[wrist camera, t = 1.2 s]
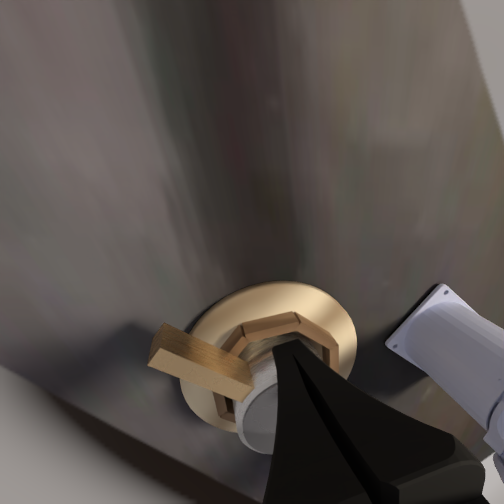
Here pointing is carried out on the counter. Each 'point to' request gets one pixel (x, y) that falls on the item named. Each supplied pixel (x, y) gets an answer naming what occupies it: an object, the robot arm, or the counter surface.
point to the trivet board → (263, 307)
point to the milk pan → (229, 377)
